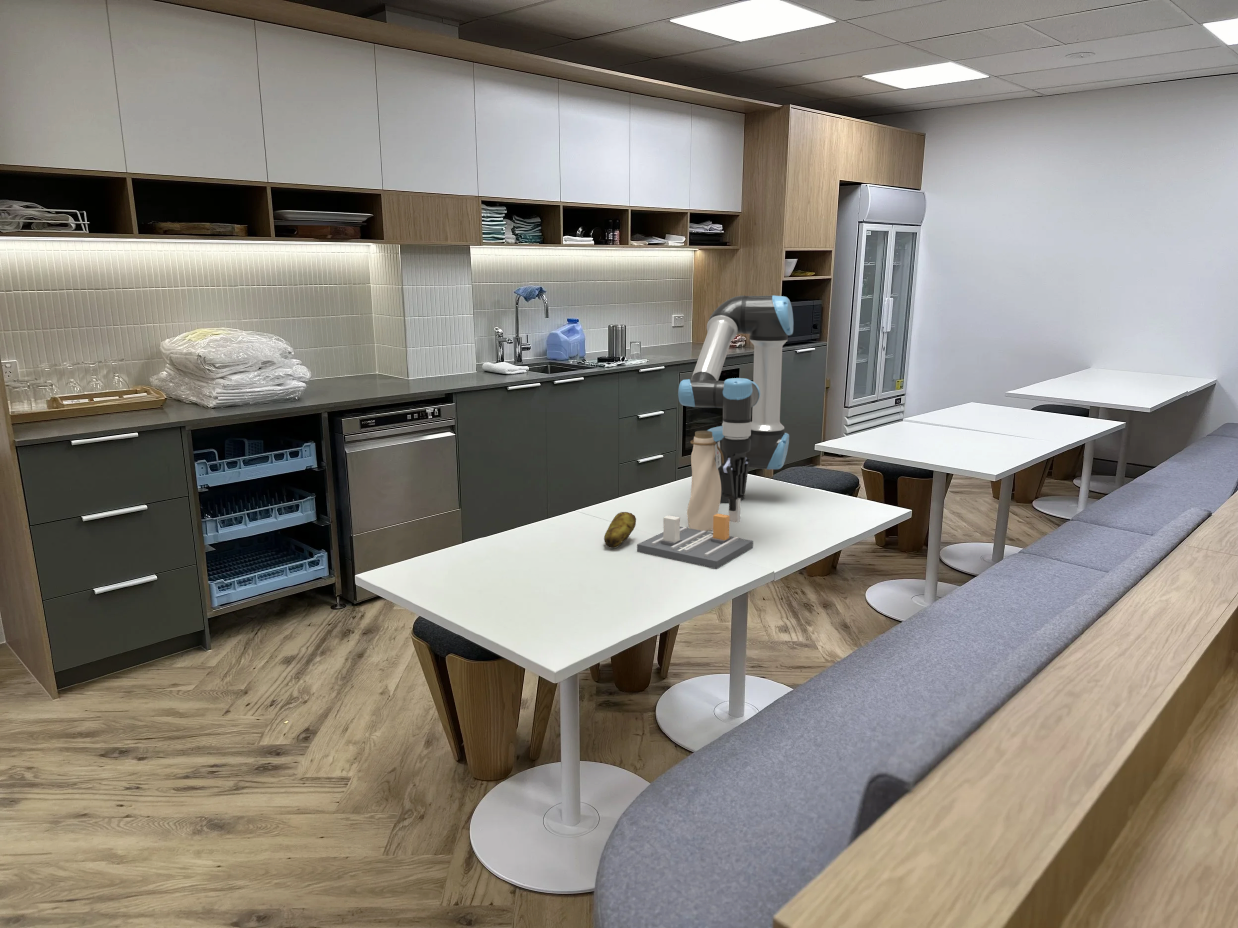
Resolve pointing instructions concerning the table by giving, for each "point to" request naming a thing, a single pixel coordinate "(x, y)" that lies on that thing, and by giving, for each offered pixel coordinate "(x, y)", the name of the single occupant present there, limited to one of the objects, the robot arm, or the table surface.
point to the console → (697, 548)
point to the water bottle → (704, 481)
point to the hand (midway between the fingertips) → (734, 521)
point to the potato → (619, 529)
